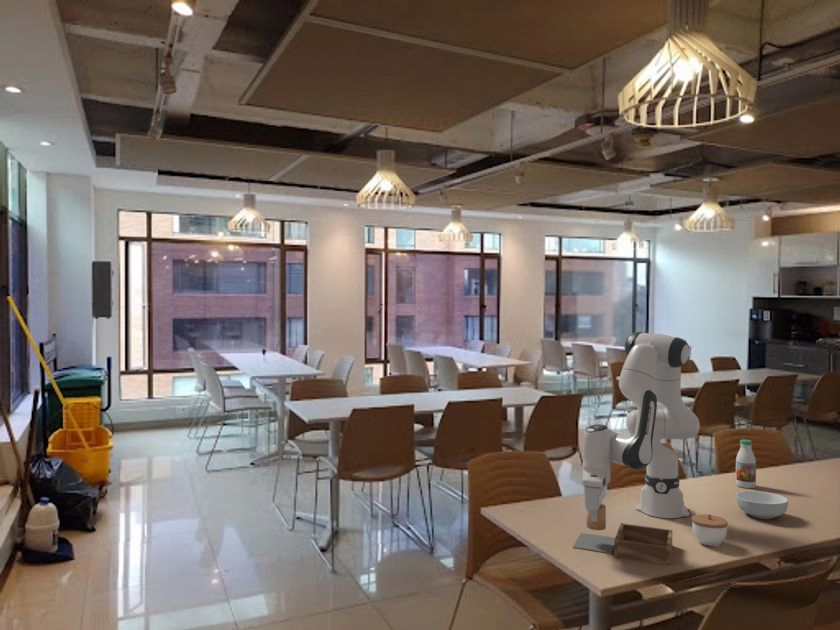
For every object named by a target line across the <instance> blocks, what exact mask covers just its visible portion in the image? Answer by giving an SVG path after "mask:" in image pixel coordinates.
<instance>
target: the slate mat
mask: <svg viewBox="0 0 840 630" xmlns="http://www.w3.org/2000/svg"><path fill="white" fill-rule="evenodd" d="M614 540H615V537H613V536H611V537H610V536H606V535H599V534H592V533H585V532H580V534H579V535H578V536H577V539H576V541H575V543H574V544H573V546H572V548H573V549H577V548H578V549H579V550H585V551H591V552H592V551H593V552H598V553H605V554H610V555H612V554H613V553H614V552H613V551H614Z"/></svg>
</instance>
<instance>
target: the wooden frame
mask: <svg viewBox="0 0 840 630" xmlns="http://www.w3.org/2000/svg"><path fill="white" fill-rule="evenodd" d="M614 538H615V540H614V549H613V551H614V552H613V554H614V555H613V556H614V557H618V558H623V559H630V560H638V561H643V562H649V563H655V564H660V565H661V564H662V565H668V566H670V564H671V559H672V558H671V557H672V550H673V529H667V528H659V527H651V526H647V525H646V526H645V525H637V524H631V523H630V524H629V523H623V522H620V525H619V527H618V530H617V533H616V535H615V537H614Z"/></svg>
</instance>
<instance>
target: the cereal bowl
mask: <svg viewBox="0 0 840 630" xmlns="http://www.w3.org/2000/svg"><path fill="white" fill-rule="evenodd" d="M735 496H736V503H737V505H738V507H739V508H740V510H741V511H742V512H744V513H747V514H749V515H750V516H751V517H753V518H757V519H761V520H772V519H775V517H777V518H778V517H781V516H782V515H784V514H786V513H787V510H788V508H789V499H787V498H786V497H784V496H783V495H780V494H776V493H772V492H766V491H758V490H757V491H756V490H746V491H740V492H737V493H736V495H735Z"/></svg>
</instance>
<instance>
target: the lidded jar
mask: <svg viewBox="0 0 840 630" xmlns="http://www.w3.org/2000/svg"><path fill="white" fill-rule="evenodd" d="M728 523H729V522H728V520H727V519H725V518H723V517H720V516H717V515H713V514H711V513H706V514H701V513H700V514H694V515H692V516H691V527H692V531H693V535H694V537H695V539H696V540H698V541H699V543H700V544H701V543H702V544H701V545H703V544H704V545H703V546H706V545H710V546H709V547H718V545H719V546H720V544H722V543H723V542H724V541H725V540H726V537H727V534H728V525H729V524H728Z"/></svg>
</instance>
